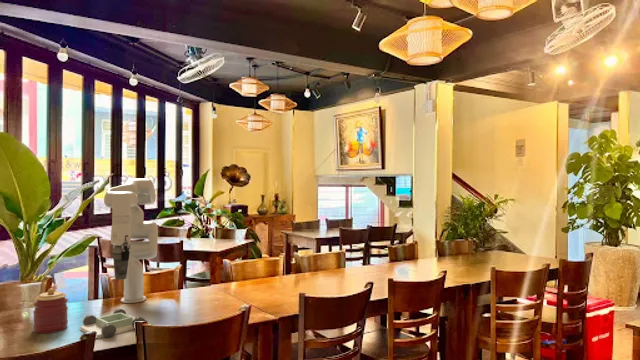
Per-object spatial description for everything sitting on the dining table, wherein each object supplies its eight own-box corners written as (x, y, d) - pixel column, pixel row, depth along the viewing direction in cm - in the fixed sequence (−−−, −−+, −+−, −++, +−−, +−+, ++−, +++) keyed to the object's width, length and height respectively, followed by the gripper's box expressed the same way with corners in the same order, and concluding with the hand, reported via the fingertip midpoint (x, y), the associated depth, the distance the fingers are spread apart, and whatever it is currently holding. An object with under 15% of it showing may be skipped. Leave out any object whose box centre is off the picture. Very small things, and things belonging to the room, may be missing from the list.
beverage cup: (115, 277, 202) (115, 233, 203) (131, 276, 203) (132, 233, 203) (109, 280, 195) (110, 234, 196) (126, 280, 196) (127, 234, 196)
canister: (74, 325, 198) (75, 285, 198) (51, 335, 185) (51, 293, 185) (50, 323, 201) (50, 284, 201) (25, 332, 188) (25, 291, 188)
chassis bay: (78, 328, 193) (78, 317, 193) (127, 317, 210) (127, 306, 210) (98, 340, 180) (98, 328, 180) (149, 327, 196) (150, 315, 196)
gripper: (104, 219, 202) (103, 258, 202) (122, 221, 191) (122, 262, 191) (120, 218, 208) (120, 256, 208) (139, 220, 197) (138, 260, 197)
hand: (120, 259), depth 199 cm, fingers closed on beverage cup, 7 cm apart
